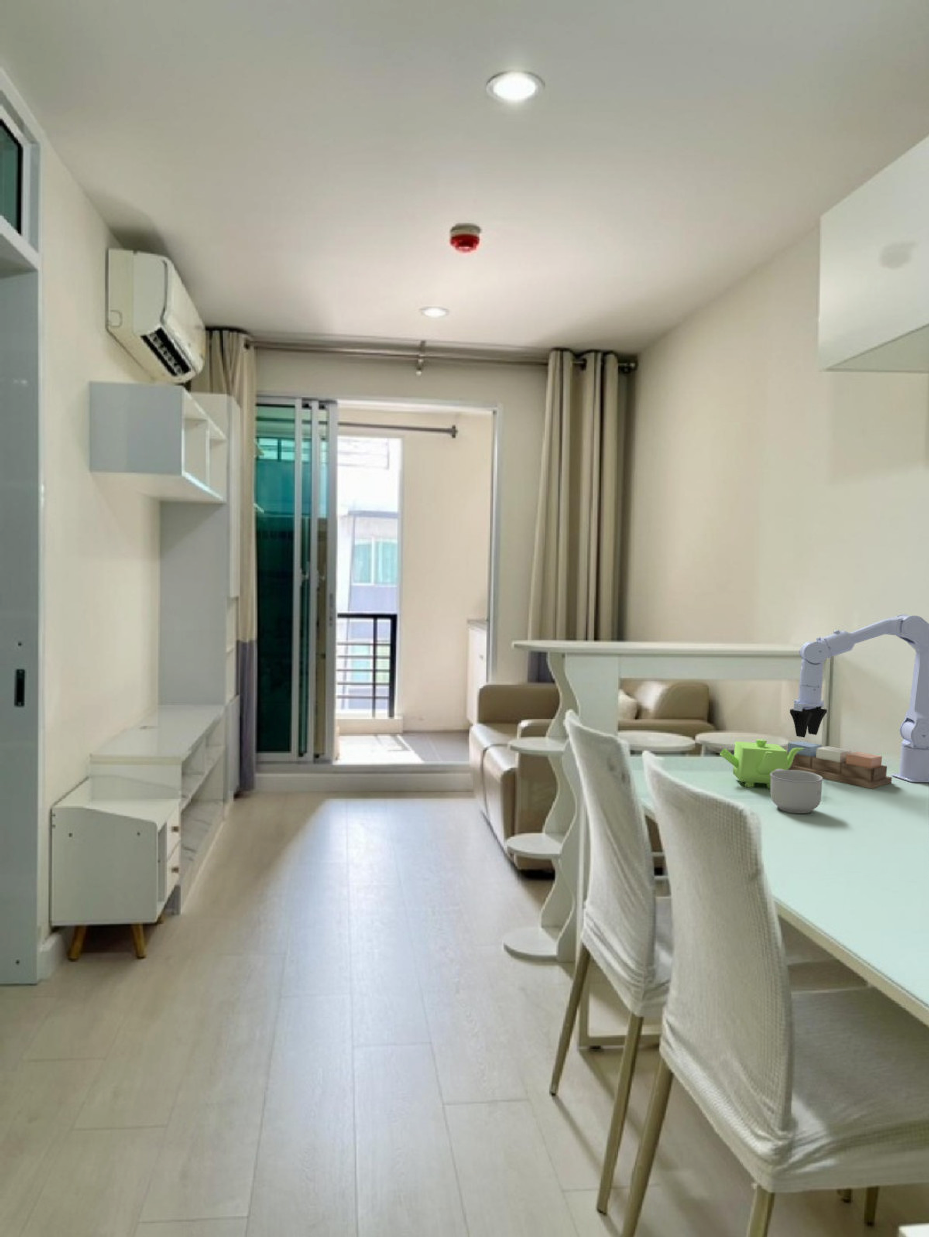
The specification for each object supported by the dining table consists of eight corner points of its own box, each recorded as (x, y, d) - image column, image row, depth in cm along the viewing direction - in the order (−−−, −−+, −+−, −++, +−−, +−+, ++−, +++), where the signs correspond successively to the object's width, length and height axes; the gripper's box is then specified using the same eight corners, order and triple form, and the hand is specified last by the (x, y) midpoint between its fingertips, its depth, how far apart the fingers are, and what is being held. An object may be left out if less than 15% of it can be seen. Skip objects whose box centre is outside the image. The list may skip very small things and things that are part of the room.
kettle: (801, 788, 216) (804, 743, 216) (771, 795, 207) (775, 748, 206) (746, 775, 227) (749, 732, 227) (716, 781, 218) (719, 736, 217)
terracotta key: (881, 768, 227) (882, 756, 227) (870, 771, 223) (871, 758, 223) (856, 763, 232) (857, 751, 232) (845, 766, 228) (846, 753, 227)
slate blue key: (820, 756, 239) (821, 745, 239) (810, 759, 235) (810, 747, 234) (798, 752, 244) (799, 740, 244) (787, 754, 239) (788, 742, 239)
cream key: (850, 762, 233) (851, 750, 233) (839, 764, 229) (840, 752, 229) (826, 757, 238) (827, 746, 238) (815, 760, 233) (816, 748, 233)
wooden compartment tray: (891, 783, 228) (892, 765, 228) (872, 788, 220) (873, 770, 220) (796, 763, 247) (797, 747, 247) (775, 768, 239) (776, 751, 239)
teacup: (827, 818, 188) (830, 781, 188) (777, 815, 188) (779, 778, 188) (804, 801, 202) (806, 767, 201) (756, 798, 202) (759, 764, 202)
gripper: (807, 682, 246) (803, 730, 246) (784, 685, 235) (780, 735, 236) (832, 686, 241) (828, 735, 241) (810, 688, 230) (806, 739, 231)
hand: (806, 735), depth 238 cm, fingers open, 7 cm apart
